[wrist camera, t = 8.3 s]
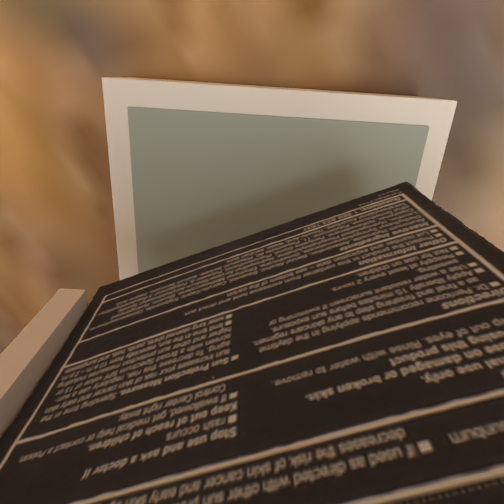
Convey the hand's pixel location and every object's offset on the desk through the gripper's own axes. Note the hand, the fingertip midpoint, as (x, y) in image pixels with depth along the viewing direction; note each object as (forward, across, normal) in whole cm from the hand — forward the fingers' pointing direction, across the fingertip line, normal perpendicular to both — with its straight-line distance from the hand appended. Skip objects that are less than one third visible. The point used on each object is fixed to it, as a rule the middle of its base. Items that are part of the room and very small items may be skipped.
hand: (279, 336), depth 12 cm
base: (+11, 0, 0) cm, 11 cm away
